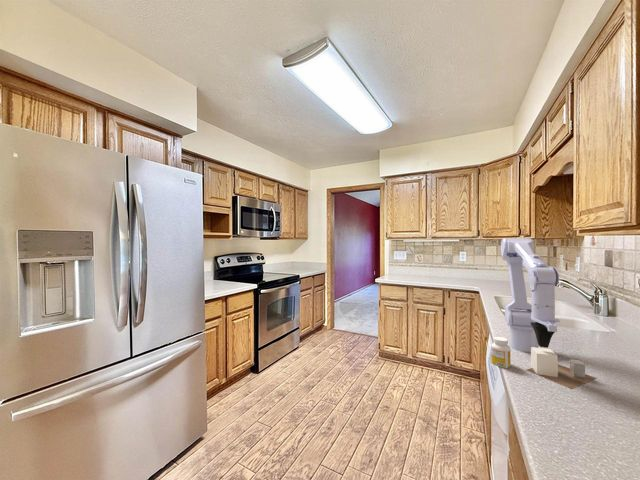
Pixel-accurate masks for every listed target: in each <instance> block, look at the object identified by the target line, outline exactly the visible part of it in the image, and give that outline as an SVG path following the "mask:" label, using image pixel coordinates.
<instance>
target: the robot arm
mask: <svg viewBox="0 0 640 480" xmlns="http://www.w3.org/2000/svg"><path fill="white" fill-rule="evenodd" d="M534 249H535V243H534V241H533V239H532V238H531V237H527V238H525V237H523V238H522V237H521V238H517V237H516V238H505V237H504V238H502V239H501V241H500V254H501V258H502V260H504V261H505V262H506V264H507V268H508V277H509V285H510V293H511V301H510V302H509V303H508V304H506V306H505V307H504V322H505V324H506V325H507V326H509V347H510V349H513V350H515V351H519V352H521V353H522V352H523V353H524V352H525V353H531V347H536V348H544V349H549V346H550V343H551V339H552V337H553V336H554V334H556V333H557V332H558V325H557V324H556V323H560V322H561V321H560V319H559V318H556V300H555V299H556V295H555V294H556V293H555V292H556V290H555V289H556V287H555V286H558V284H559V282H560V274H559V271H558V269H557V268H556V267H555V266H551V265H548V264H547V263H546V261H545V260H544V259H543V258H542V256H540V255H539V254H535V252H534ZM523 267H524V268H525V270H526V272H527V273H528V275H527V277H528V281H529V282H528V283H529V289H530V290H531V303H529V302H528V297H527V290H526V283H525V275H524V268H523Z"/></svg>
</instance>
